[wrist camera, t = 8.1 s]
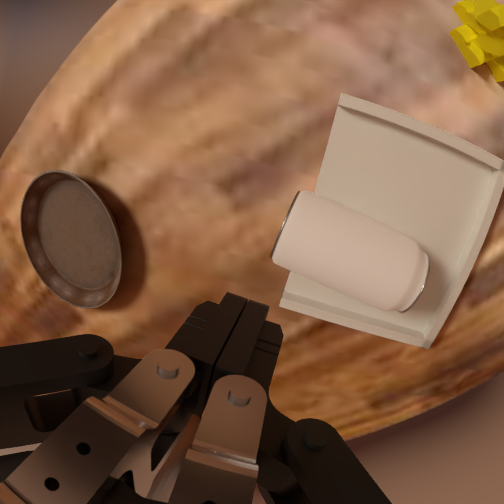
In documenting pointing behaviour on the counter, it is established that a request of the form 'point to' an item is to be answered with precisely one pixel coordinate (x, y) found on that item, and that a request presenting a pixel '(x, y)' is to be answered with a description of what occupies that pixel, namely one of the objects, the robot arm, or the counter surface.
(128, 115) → the counter surface
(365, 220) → the can
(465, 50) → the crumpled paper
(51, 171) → the plant saucer
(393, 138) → the tray
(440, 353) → the counter surface
